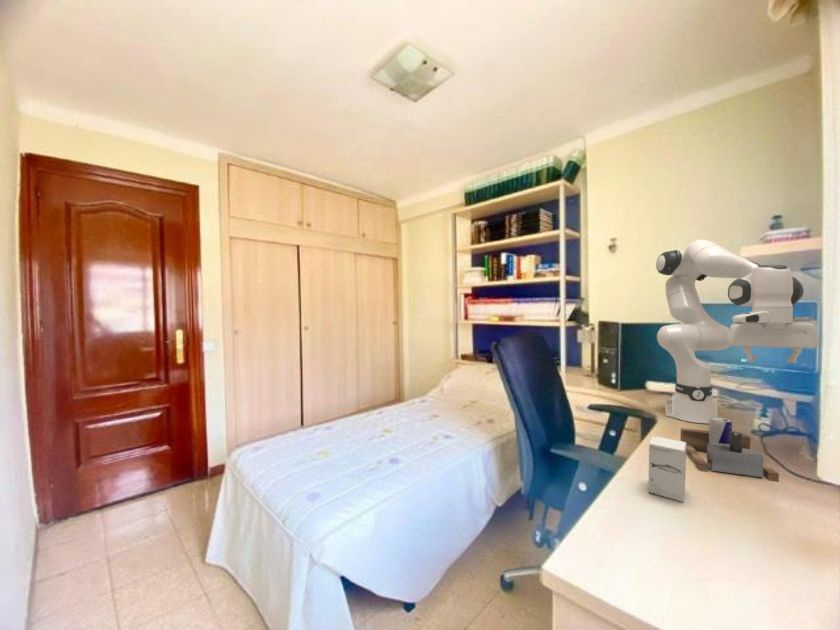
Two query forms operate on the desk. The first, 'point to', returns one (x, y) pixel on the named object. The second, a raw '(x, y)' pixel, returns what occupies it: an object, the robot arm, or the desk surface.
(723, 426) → the energy drink
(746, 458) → the sliding jaw
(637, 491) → the desk surface
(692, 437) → the vise frame
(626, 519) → the desk surface
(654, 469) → the supplement box
